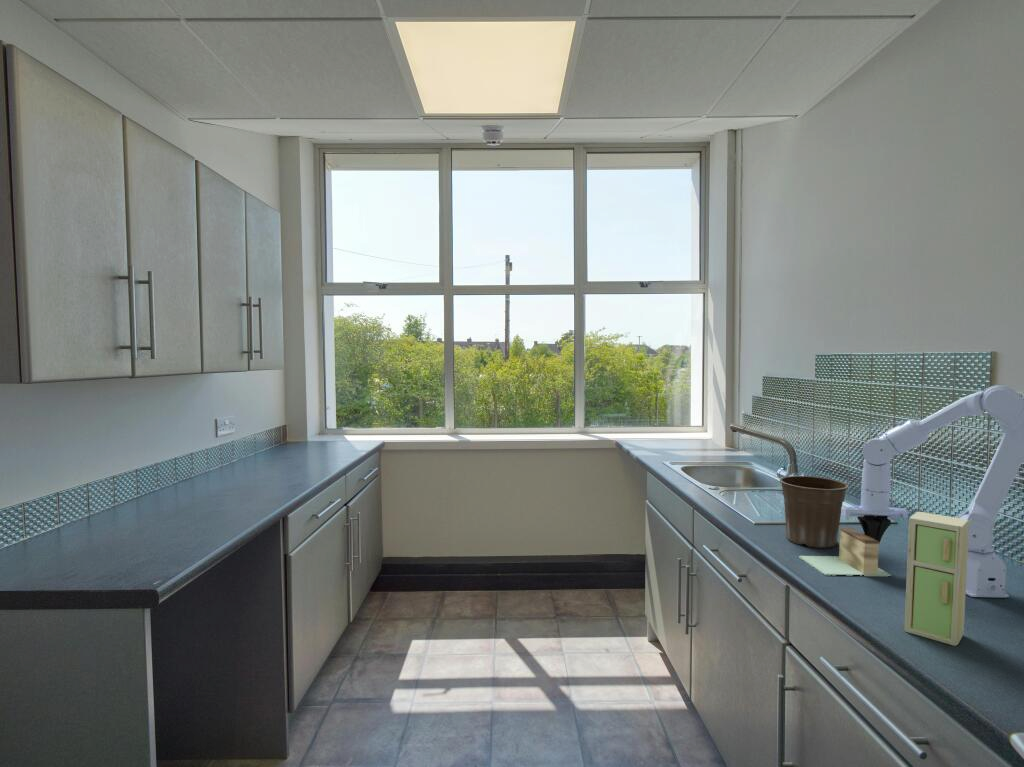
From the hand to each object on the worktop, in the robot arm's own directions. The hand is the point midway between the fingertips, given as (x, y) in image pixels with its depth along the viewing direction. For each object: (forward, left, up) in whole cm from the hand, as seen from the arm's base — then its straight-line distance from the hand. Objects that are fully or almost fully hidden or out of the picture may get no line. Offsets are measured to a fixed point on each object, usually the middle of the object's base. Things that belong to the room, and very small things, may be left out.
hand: (872, 547), depth 141 cm
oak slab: (0, +3, -5) cm, 6 cm away
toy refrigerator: (-33, +9, -5) cm, 35 cm away
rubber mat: (+1, +6, -5) cm, 8 cm away
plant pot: (+20, +4, -5) cm, 21 cm away
